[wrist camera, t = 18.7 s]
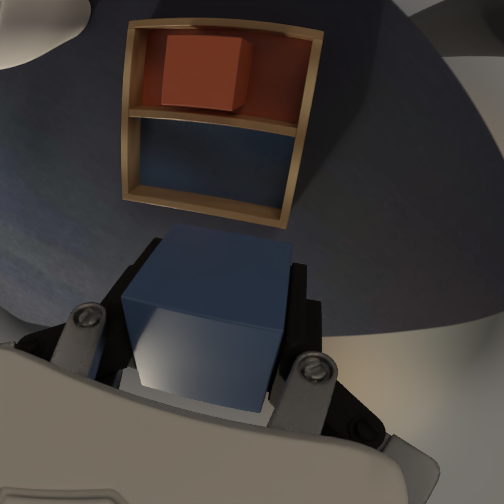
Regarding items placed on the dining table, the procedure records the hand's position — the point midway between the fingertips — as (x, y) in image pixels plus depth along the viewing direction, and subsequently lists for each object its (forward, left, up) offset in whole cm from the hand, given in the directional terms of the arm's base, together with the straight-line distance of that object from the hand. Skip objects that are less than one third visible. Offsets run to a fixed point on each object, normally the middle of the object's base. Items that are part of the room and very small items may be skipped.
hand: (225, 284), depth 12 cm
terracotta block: (-8, -4, -13) cm, 15 cm away
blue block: (0, 0, 0) cm, 0 cm away
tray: (-4, -4, -14) cm, 15 cm away
